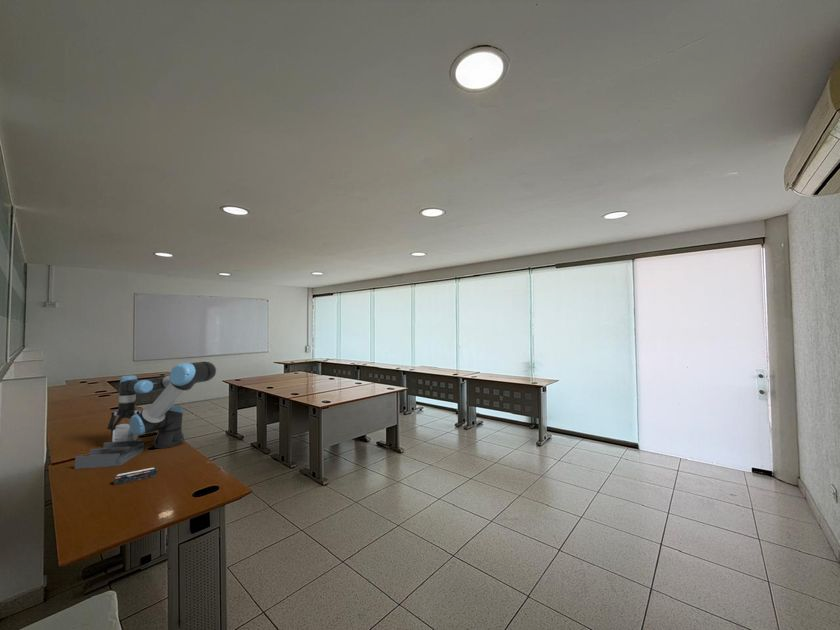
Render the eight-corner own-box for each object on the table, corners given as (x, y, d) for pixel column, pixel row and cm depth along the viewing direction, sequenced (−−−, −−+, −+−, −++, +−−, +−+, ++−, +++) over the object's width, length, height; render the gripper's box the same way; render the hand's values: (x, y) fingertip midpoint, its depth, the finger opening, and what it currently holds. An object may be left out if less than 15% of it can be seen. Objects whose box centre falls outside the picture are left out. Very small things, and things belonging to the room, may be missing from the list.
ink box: (113, 446, 192) (114, 425, 193) (122, 443, 197) (123, 423, 198) (126, 446, 191) (128, 426, 192) (135, 443, 197) (136, 423, 197)
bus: (164, 479, 156) (164, 470, 156) (89, 495, 140) (90, 485, 140) (162, 469, 167) (163, 460, 167) (93, 483, 151) (94, 473, 151)
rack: (144, 450, 191) (144, 439, 191) (120, 465, 169) (121, 453, 170) (104, 453, 186) (104, 442, 186) (74, 469, 164) (75, 456, 165)
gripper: (152, 399, 202) (150, 437, 201) (108, 401, 196) (106, 439, 195) (145, 402, 195) (143, 440, 194) (100, 404, 189) (97, 443, 188)
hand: (124, 440), depth 195 cm, fingers closed on ink box, 9 cm apart
